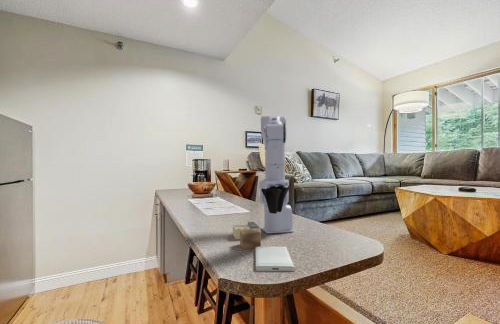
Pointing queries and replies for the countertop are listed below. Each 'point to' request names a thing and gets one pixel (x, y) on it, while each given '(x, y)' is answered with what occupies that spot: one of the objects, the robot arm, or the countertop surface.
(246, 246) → the stub block
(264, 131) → the robot arm
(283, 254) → the hard drive
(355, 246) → the countertop surface
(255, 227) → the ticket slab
